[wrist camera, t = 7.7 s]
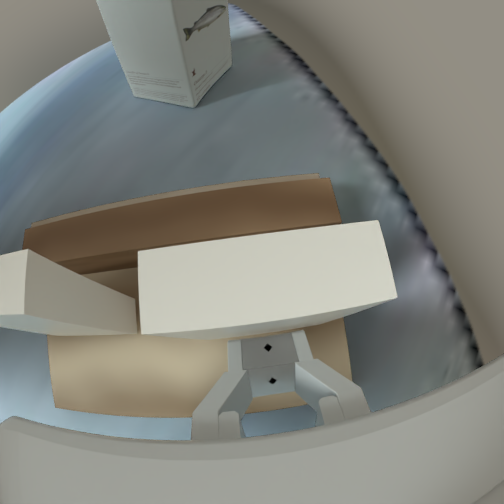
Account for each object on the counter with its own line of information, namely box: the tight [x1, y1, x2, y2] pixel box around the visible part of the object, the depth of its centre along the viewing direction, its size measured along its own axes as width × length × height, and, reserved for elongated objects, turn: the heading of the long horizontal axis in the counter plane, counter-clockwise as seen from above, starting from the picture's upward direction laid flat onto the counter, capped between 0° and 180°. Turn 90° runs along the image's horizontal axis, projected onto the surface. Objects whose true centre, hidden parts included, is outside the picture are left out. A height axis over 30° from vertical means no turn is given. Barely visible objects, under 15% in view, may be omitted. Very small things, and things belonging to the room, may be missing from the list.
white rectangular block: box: [138, 220, 397, 340], centre depth 11 cm, size 2×6×9 cm, turn 97°
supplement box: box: [96, 0, 232, 108], centre depth 17 cm, size 7×7×13 cm
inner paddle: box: [0, 249, 137, 336], centre depth 11 cm, size 2×6×9 cm, turn 97°
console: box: [22, 173, 352, 418], centre depth 15 cm, size 12×19×4 cm, turn 98°
